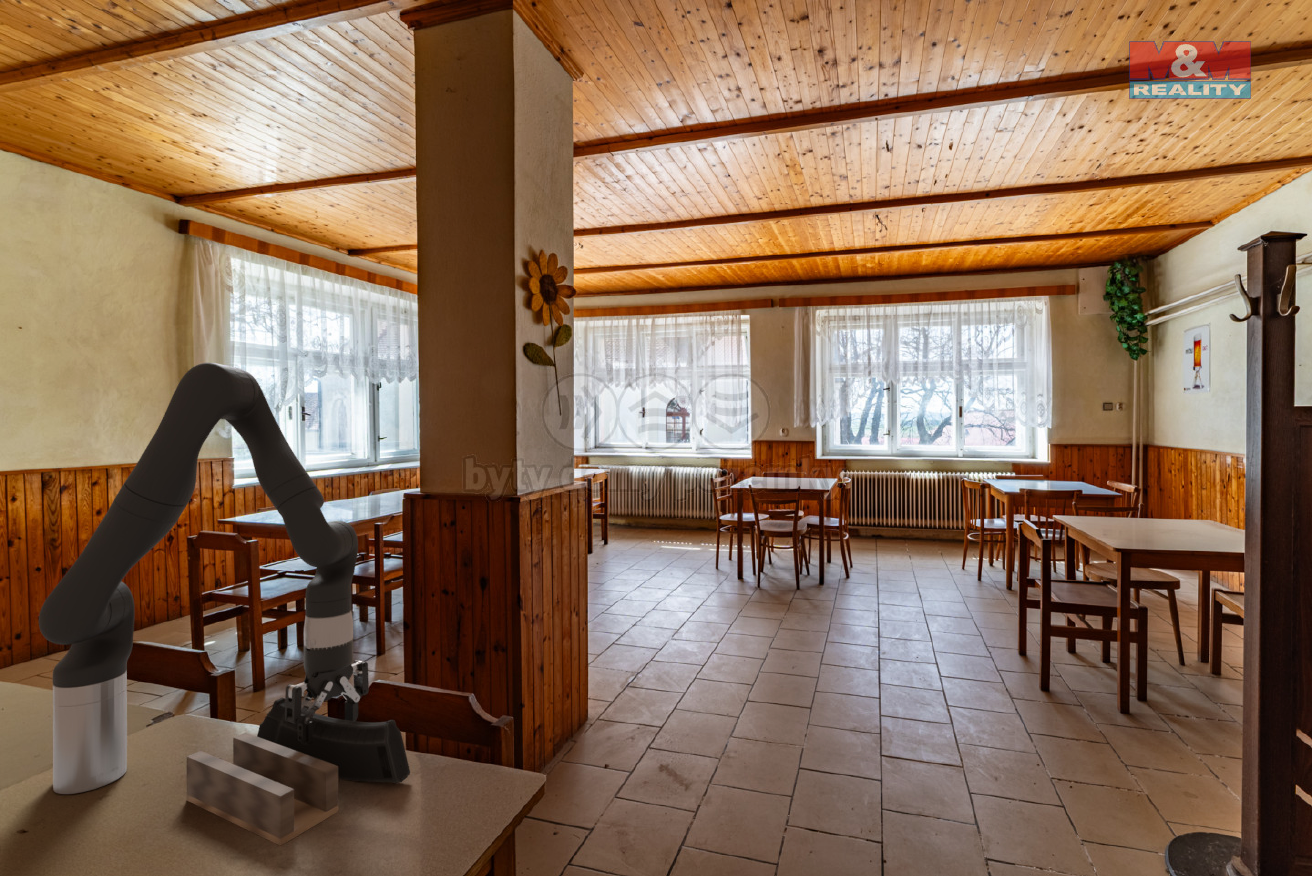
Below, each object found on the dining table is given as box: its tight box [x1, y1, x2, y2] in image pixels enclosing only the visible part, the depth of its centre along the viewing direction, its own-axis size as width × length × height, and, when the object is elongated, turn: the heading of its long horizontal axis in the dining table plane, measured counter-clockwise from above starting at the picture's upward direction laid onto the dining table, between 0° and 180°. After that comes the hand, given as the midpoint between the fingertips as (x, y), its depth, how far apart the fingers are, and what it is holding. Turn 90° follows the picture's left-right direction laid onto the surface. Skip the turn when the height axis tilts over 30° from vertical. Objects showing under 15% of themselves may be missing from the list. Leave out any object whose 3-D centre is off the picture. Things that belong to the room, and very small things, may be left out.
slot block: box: [186, 732, 339, 847], centre depth 98 cm, size 24×9×7 cm, turn 63°
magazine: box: [256, 697, 411, 785], centre depth 108 cm, size 17×3×30 cm
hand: (329, 732), depth 108 cm, fingers open, 8 cm apart
